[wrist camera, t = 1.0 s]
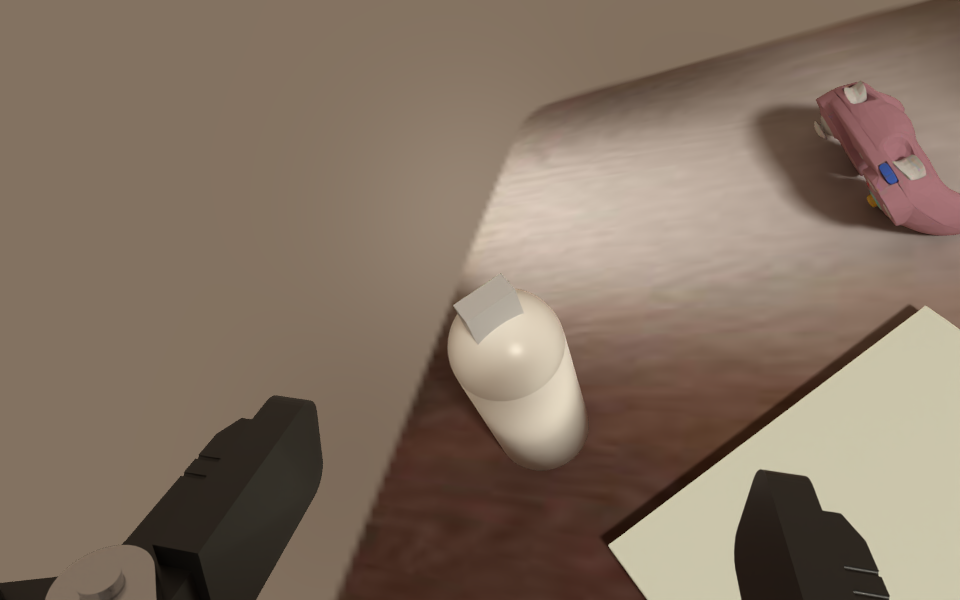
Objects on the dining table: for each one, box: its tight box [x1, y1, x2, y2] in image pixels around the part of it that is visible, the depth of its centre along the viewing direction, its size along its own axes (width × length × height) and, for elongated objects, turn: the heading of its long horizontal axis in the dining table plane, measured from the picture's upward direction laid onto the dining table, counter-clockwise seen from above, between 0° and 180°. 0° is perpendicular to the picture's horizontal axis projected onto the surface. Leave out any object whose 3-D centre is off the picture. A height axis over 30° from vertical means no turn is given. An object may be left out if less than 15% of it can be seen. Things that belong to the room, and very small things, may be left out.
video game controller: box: [814, 81, 960, 235], centre depth 34 cm, size 10×5×7 cm, turn 6°
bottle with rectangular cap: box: [447, 273, 589, 471], centre depth 29 cm, size 5×5×13 cm
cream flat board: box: [608, 306, 960, 600], centre depth 26 cm, size 20×14×1 cm
